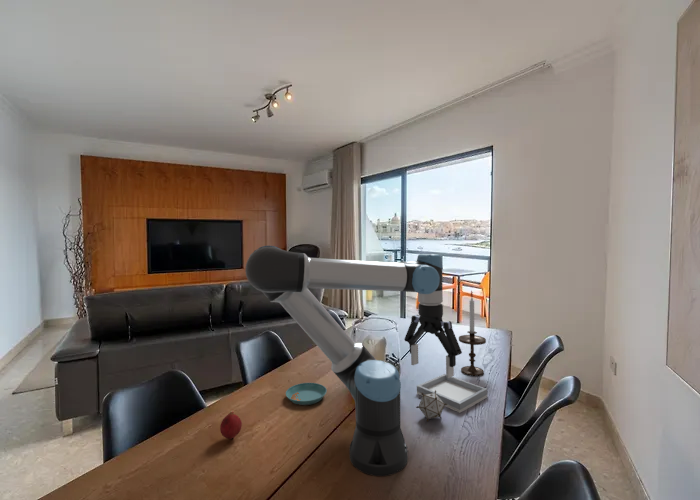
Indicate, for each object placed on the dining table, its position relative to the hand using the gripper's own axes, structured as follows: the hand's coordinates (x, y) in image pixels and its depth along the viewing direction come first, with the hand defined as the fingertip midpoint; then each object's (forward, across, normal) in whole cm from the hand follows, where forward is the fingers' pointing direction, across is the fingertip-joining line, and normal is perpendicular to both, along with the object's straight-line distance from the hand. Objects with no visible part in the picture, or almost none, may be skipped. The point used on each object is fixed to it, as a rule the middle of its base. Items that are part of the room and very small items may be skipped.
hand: (431, 370), depth 106 cm
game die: (+16, 0, 0) cm, 16 cm away
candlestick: (+16, +12, -43) cm, 47 cm away
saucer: (+16, +38, +23) cm, 47 cm away
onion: (+15, +30, +53) cm, 63 cm away
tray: (+15, +5, -18) cm, 24 cm away
